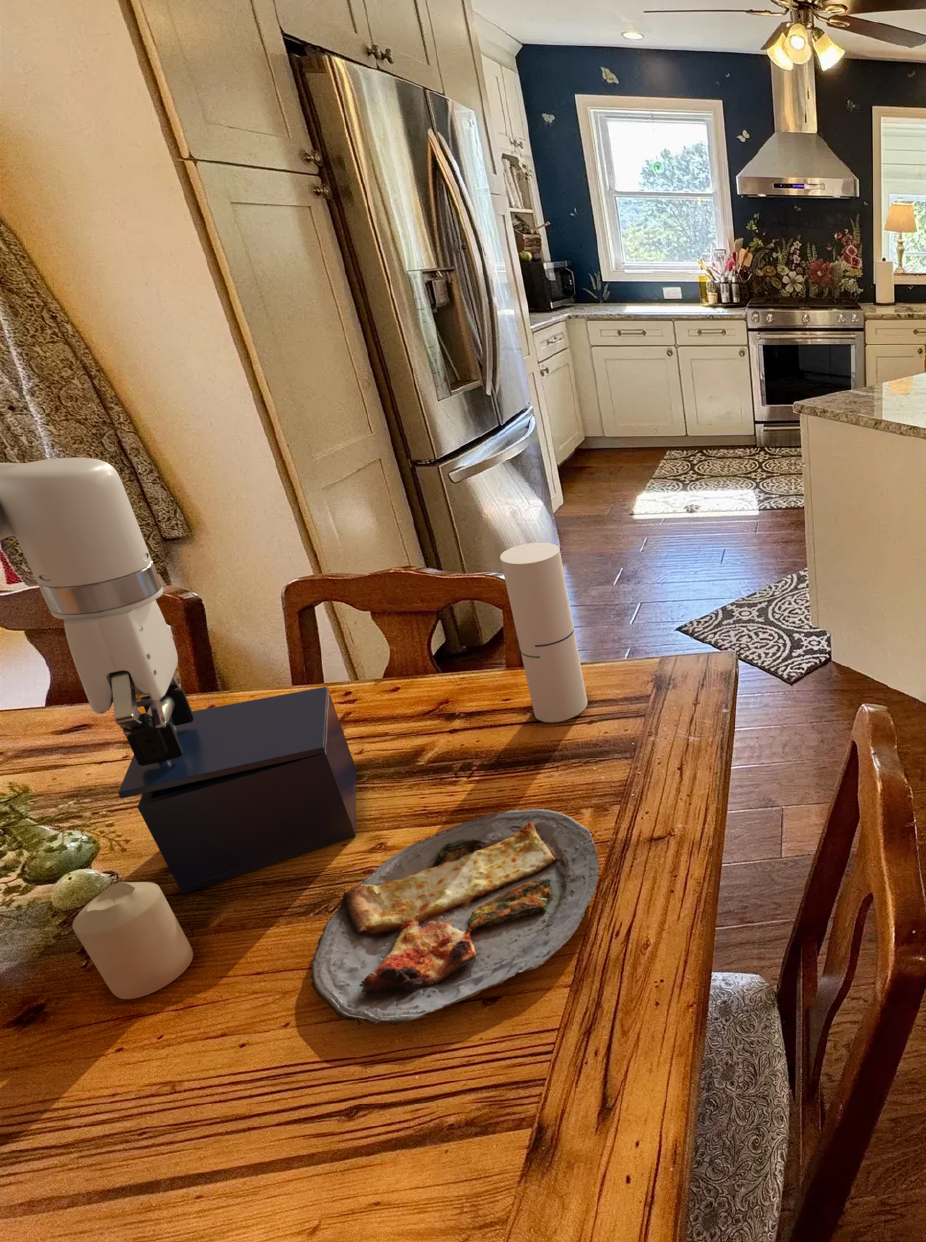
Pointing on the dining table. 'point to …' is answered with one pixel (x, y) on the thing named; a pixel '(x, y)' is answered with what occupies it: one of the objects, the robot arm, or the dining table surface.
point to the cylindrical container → (545, 630)
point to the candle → (133, 939)
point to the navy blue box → (255, 814)
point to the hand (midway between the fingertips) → (168, 740)
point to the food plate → (456, 915)
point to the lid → (236, 740)
